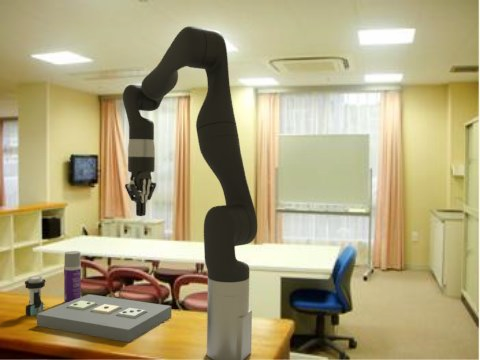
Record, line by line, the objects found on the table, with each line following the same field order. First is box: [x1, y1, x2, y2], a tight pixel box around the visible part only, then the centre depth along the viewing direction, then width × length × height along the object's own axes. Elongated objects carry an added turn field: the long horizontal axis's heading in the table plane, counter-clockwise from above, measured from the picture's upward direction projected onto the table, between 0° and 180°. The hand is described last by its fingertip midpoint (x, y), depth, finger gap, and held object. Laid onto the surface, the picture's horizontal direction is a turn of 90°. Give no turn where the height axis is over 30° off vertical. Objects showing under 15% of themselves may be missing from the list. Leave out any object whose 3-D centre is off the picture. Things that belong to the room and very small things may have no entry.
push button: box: [24, 275, 46, 317], centre depth 131 cm, size 7×5×10 cm
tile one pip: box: [93, 304, 120, 315], centre depth 124 cm, size 5×5×3 cm
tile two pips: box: [68, 301, 96, 311], centre depth 127 cm, size 5×5×3 cm
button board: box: [36, 293, 172, 343], centre depth 124 cm, size 28×20×3 cm
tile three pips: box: [118, 308, 145, 319], centre depth 122 cm, size 5×5×3 cm
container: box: [63, 250, 82, 304], centre depth 141 cm, size 5×5×15 cm
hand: (140, 215), depth 135 cm, fingers closed
